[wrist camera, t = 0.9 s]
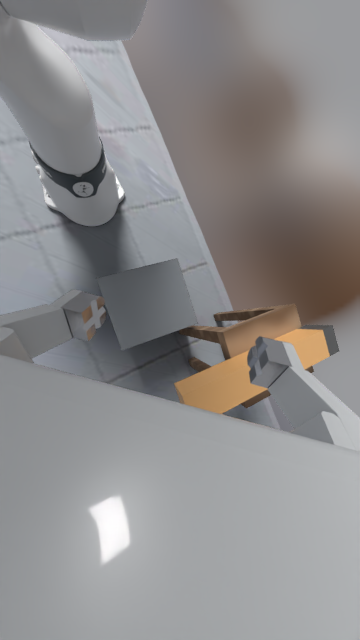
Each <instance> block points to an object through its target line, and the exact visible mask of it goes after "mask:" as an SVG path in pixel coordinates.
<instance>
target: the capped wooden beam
mask: <svg viewBox="0 0 360 640" xmlns="http://www.w3.org/2000/svg"><path fill="white" fill-rule="evenodd" d="M274 340H278V341H284V342H288V343H291V344H292V345H293V346H294V348H295V350H296V353H297V355H298V357H299V359H300V361H301V363H302V366H303V368H304V370H305V369H307V368H308V367H310V366H312V365H314V364H316V363H318V362H320V361H322V360H323V359H325V358H327V357H329V356H331V355H333V354H335V353H336V352H338V351H339V348H338V344H337V341H336V337H335V333H334V329H333V326H332V325H305V326H303V327H300V328H298V329H296V330H294V331H291V332H289V333H287V334H285V335H282V336H280V337H278V338H275V339H274ZM248 352H249V350H248V351H246V352H244V353H242V354H239V355H237V356H235V357H233V358H230V359H228V360H226V361H224V362H221V363H219V364H217V365H215V366H212V367H210V368H208V369H206V370H203V371H201V372H199V373H197V374H194V375H192V376H190V377H188V378H185V379H183V380H181V381H179V382H176V383H174V385H175V388H176V391H177V394H178V397H179V400H180V403H182V404H185V405H189V406H193V407H197V408H200V409H204V410H208V411H211V412H215V413H219V414H222V413H224V412H226V411H228V410H230V409H231V408H233V407H235V406H237V405H239V404H241V403H243V402H245V401H246V400H248V399H250V398H252V397H254V396H256V395H258V394H260V393H262V392H263V391H265V390H267V389H268V388H264V387H261V386H257V385H254V384H251V383H250V377H249V371H250V370H251V368H250V367H249V366H248V364H247V356H248Z"/></svg>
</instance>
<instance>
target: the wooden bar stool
mask: <svg viewBox="0 0 360 640" xmlns="http://www.w3.org/2000/svg"><path fill="white" fill-rule="evenodd" d="M214 318H215V321H233V320H245V321H243V322H240V323H238V324H235V325H232V326H230V327H209V326H189V327H186V328H184V329H181V330H179V333H180V334H182V335H186V336H190V337H194V338H199V339H203V340H207V341H211V342H215V343H219V344H220V345H221V348H222V351H223V354H224V357H225V361H226V360H228V359H230V358H233V357H235V356H237V355H239V354H242V353H244V352H246V351H248V350H250V349H251V347H253V346H255V345H256V344H255V341H256V339H257V338H258V337H259V336H262V337H266V338H270V339H275V338H278V337H280V336H282V335H285V334H287V333H289V332H291V331H294V330H296V329H298V328H300V327H301V323H300V319H299V316H298V312H297V309H296V305H295V304H291V305H282V306H273V307H265V308H256V309H247V310H239V311H230V312H221V313H217V314H214ZM189 363H190V366H191V367H192V368H194V369H195V370H196V371H198V372H201V371H203V370H206V369H208V368H210V367H211V366H209V365H207V364H206V363H204V362H202V361H200V360H199V359H197V358H195V357H193V358H191V359H189ZM305 370H306V371H308V372H310V373H312V372H314V371H313V367H312V366H310V367H308V368H307V369H305ZM270 395H271V394H270V392H269V391H268V389H267V390H265V391H263V392H262V393H260V394H258V395H256V396H254V397H252V398H250V399H248V400H246V401H245V402H243V403H241V405H243V406H244V407H245V408H248V407H250V406H252V405H253V404H255V403H257V402H259V401H261V400H263V399H264V398H266V397H268V396H270Z"/></svg>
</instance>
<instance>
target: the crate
mask: <svg viewBox="0 0 360 640" xmlns="http://www.w3.org/2000/svg"><path fill="white" fill-rule="evenodd" d="M96 280H97V283H98V285H99V288H100V291H101V294H102V297H103V298H104V301H105V305H106V308H107V311H108V314H109V317H110V319H111V322H112V325H113V328H114V331H115V333H116V336H117V339H118V342H119V345H120V348H121V350H122V351H123V350H125V349H128V348H131V347H134V346H136V345H139V344H142V343H145V342H148V341H150V340H153V339H156V338H159V337H161V336H164V335H167V334H170V333H172V332H175V331H178V330H181V329H184V328H186V327H189V326H192V325H195V324H197V323H198V322H197V319H196V315H195V312H194V309H193V306H192V303H191V300H190V297H189V293H188V290H187V287H186V284H185V281H184V278H183V274H182V271H181V268H180V265H179V262H178V259H177V258H176V259H172V260H168V261H164V262H160V263H156V264H152V265H148V266H144V267H140V268H135V269H131V270H127V271H123V272H119V273H115V274H111V275H107V276H103V277H99V278H96Z"/></svg>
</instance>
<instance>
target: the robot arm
mask: <svg viewBox="0 0 360 640" xmlns="http://www.w3.org/2000/svg"><path fill="white" fill-rule="evenodd" d="M146 4H147V0H0V97H1V98H2V99H3V101H4V102H5V103H6V105H7V106H8V108H9V109H10V111H11V112H12V114H13V116H14V117H15V119H16V120H17V122H18V123H19V125H20V127H21V128H22V130H23V131H24V133H25V135H26V136H27V138H28V140H29V144H30V147H31V149H32V150H31V152H32V156H33V158H34V161H35V162H36V163H37V164H39V166H36V170H37V172H38V174H40V175H41V176H39V178H40V180H41V182H42V184H43V191H44V198H45V202H46V204H47V206H48V207H50V208H52V209H54V210H57V211H60V212H61V213H63V214H64V215H65V216H67V217H68V218H69V219H70V220H72V221H74V222H76V223H78V224H81V225H85V226H98V225H102V224H104V223H106V222H108V221H109V220H110V219H111V218H112V217H113V216H114V214H115V212H116V210H117V206H118V204H119V203H120V202H121V201H122V200H123V198H124V197H125V193H124V190H123V188H122V186H121V185H120V183H119V181H118V179H117V177H116V175H115V172H114V170H113V169H112V168H111V166H110V164H109V162H108V161H107V159H106V156H105V151H104V149H103V144H102V141H101V139H100V137H99V134H98V129H97V123H96V118H95V112H94V107H93V102H92V98H91V94H90V92H89V90H88V87H87V85H86V83H85V81H84V79H83V77H82V76H81V74H80V72H79V70H78V69H77V67H76V66H75V64H74V63H73V61H72V60H71V59H70V58H69V56H68V55H67V54H66V53H65V52H64V51H63V50H62V49H61V48H60V47H59V46H58V45H57V44H56V43H55V42H54V41H53V40H52V39H51V38H49V37H48V36H47V35H46V34H45V33H44V32H43V31H42V30H41V29H40V28H39V27H38V26H37V25H40V26H43V27H46V28H49V29H52V30H55V31H59V32H62V33H65V34H68V35H71V36H74V37H78V38H81V39H84V40H87V41H117V40H130V39H131V38H132V36H133V35H134V33H135V32H136V30H137V28H138V26H139V24H140V22H141V19H142V17H143V14H144V11H145V8H146ZM36 24H37V25H36ZM117 188H118V189H119V190H118V189H117ZM49 197H50V198H49ZM104 304H105V301H104V298H103V297H102V296H98V295H94V294H91V293H87V292H83V291H79V290H75V289H74V290H71V291H69V292H68V293H66V294H65V295H63V296H62V297H60V298H59V299H57V300H56V301H54V302H53V303H52V304H50V305H47V304H46V305H41V306H37V307H33V308H29V309H24V310H20V311H16V312H12V313H8V314H3V315H0V640H360V418H359V417H358V416H357V415H356V414H355V413H354V412H353V411H351V410H350V409H349V408H348V407H347V406H346V405H345V404H344V403H343V402H342V401H340V400H339V399H338V398H337V397H336V396H335V395H334V394H333V393H331V392H330V391H329V390H328V389H327V388H326V387H325V386H324V385H323V384H322V383H321V382H319V381H318V380H317V379H316V378H315V377H314V376H313V375H312V374H311V373H310V372H308V371H306V370H304V368H303V366H302V363H301V361H300V359H299V357H298V355H297V353H296V350H295V348H294V346H293V345H292V344H291V343H288V342H284V341H278V340H274V339H270V338H266V337H262V336H259V337H258V338H257V339H256V341H255V344H256V345H255V346H253V347H251V349H250V350H249V352H248V356H247V364H248V366H249V367H250V368H251V370H250V371H249V377H250V383H251V384H254V385H257V386H261V387H264V388H268V391H269V392H270V394H271V395H272V397H273V398H274V400H275V401H276V403H277V404H278V406H279V407H280V408H281V410H282V411H283V413H284V414H285V416H286V417H287V419H288V420H289V422H290V423H291V425H292V426H293V428H294V429H293V430H292V431H290V432H285V431H282V430H278V429H274V428H271V427H267V426H263V425H259V424H256V423H252V422H248V421H245V420H241V419H237V418H234V417H230V416H226V415H222V414H219V413H215V412H211V411H208V410H204V409H200V408H197V407H193V406H189V405H185V404H182V403H178V402H174V401H171V400H167V399H163V398H159V397H156V396H152V395H148V394H145V393H141V392H137V391H134V390H130V389H126V388H122V387H119V386H115V385H111V384H108V383H104V382H100V381H97V380H93V379H89V378H86V377H82V376H78V375H74V374H71V373H67V372H63V371H60V370H56V369H52V368H49V367H45V366H41V365H38V364H34V362H33V361H32V358H34V357H36V356H38V355H40V354H42V353H44V352H46V351H48V350H50V349H52V348H54V347H56V346H58V345H60V344H62V343H64V342H66V341H68V340H70V339H72V338H77V339H81V340H85V341H89V340H90V339H91V338H92V337H93V336H94V334H95V333H96V329H97V328H100V327H101V326H102V325H103V324H104V322H105V319H106V310H105V309H104V308H103V305H104Z"/></svg>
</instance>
